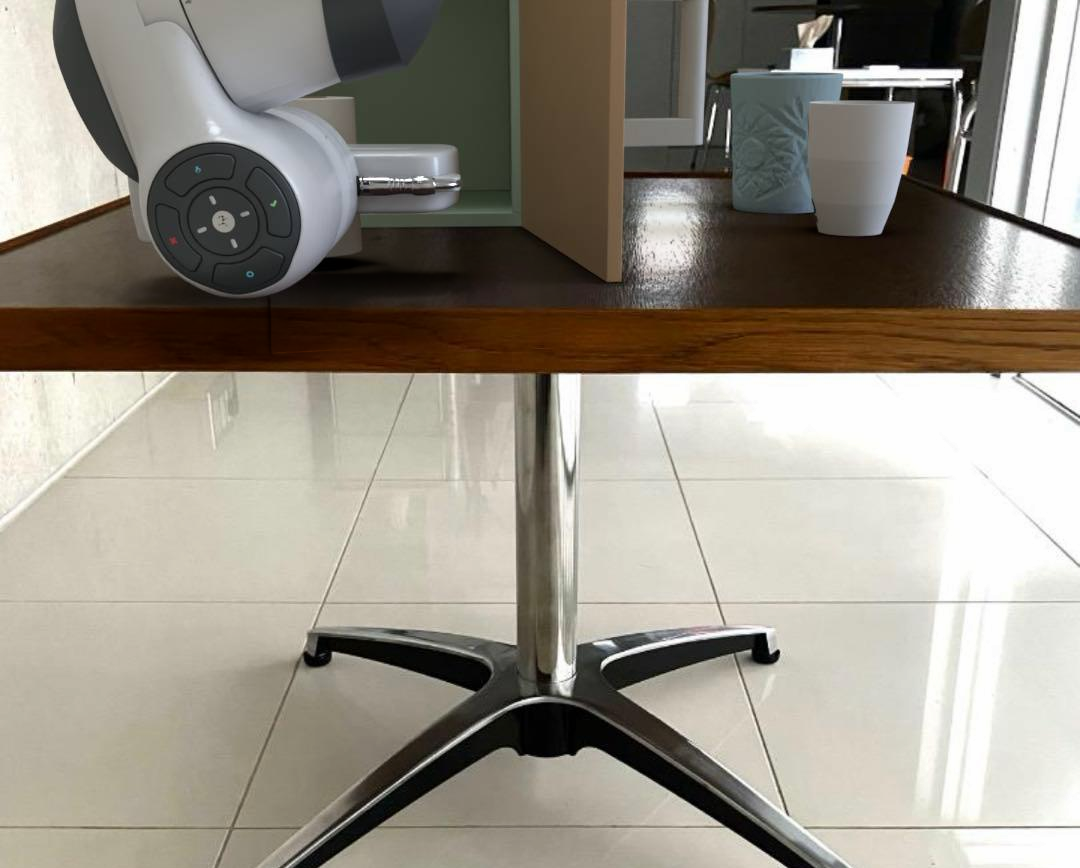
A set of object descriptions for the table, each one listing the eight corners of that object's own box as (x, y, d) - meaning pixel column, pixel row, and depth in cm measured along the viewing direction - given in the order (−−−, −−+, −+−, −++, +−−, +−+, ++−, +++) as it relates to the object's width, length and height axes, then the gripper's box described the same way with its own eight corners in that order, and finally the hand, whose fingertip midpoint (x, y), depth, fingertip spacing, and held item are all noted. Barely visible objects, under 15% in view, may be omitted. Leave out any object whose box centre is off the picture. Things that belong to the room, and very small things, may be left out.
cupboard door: (599, 224, 104) (603, -121, 95) (708, 278, 78) (730, -189, 69) (521, 226, 103) (517, -123, 93) (606, 282, 77) (613, -193, 67)
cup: (848, 223, 105) (858, 99, 101) (922, 233, 99) (937, 102, 95) (778, 230, 101) (787, 102, 97) (852, 241, 95) (864, 104, 91)
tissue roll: (299, 260, 81) (288, 98, 77) (259, 249, 85) (246, 96, 81) (378, 252, 84) (370, 97, 80) (335, 242, 88) (326, 95, 85)
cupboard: (526, 227, 104) (523, -124, 94) (190, 230, 103) (152, -124, 93) (522, 201, 122) (519, -94, 113) (237, 203, 122) (210, -93, 112)
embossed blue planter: (821, 202, 120) (831, 71, 116) (842, 214, 111) (855, 73, 106) (718, 202, 120) (724, 72, 116) (730, 215, 111) (738, 73, 106)
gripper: (459, 129, 70) (465, 118, 82) (97, 129, 69) (160, 118, 82) (462, 242, 72) (467, 214, 85) (111, 243, 71) (170, 214, 84)
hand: (314, 166), depth 83 cm, fingers closed on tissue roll, 6 cm apart
